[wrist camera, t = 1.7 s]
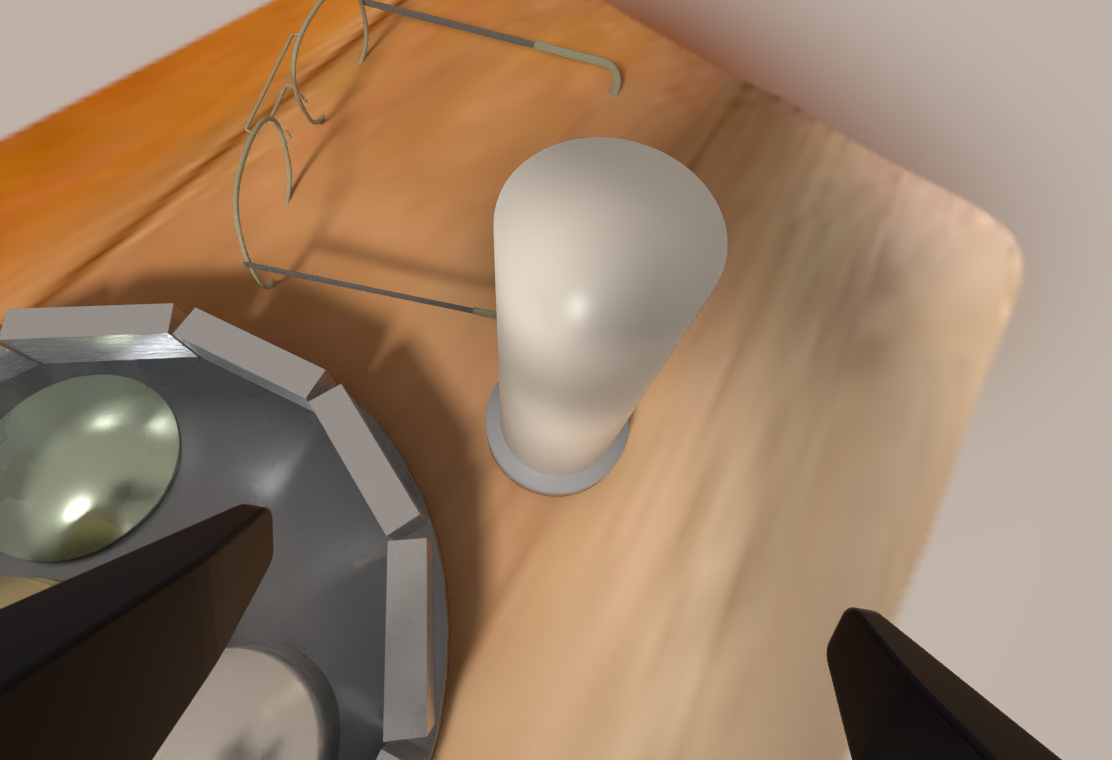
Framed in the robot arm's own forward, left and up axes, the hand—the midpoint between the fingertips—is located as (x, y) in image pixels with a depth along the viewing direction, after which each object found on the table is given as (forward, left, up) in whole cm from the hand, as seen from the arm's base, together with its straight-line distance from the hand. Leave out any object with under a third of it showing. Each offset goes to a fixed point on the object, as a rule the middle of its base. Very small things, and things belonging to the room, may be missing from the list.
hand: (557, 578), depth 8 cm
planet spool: (+5, -4, -12) cm, 14 cm away
